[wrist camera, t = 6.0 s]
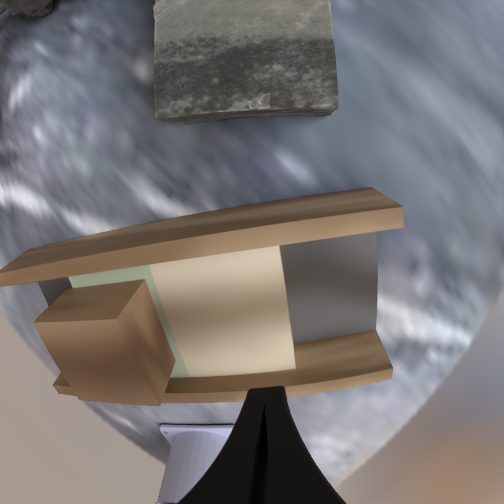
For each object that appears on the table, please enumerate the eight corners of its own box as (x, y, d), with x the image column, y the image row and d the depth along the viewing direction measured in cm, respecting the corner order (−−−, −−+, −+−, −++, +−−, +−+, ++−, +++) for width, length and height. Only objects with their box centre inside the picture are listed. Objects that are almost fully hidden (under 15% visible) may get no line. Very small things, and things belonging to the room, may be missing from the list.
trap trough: (373, 337, 21) (391, 378, 17) (80, 360, 24) (58, 393, 19) (372, 187, 17) (403, 206, 13) (29, 249, 20) (-6, 274, 15)
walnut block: (175, 360, 19) (160, 406, 15) (101, 360, 19) (79, 399, 16) (145, 278, 16) (116, 318, 13) (67, 288, 17) (33, 322, 13)
